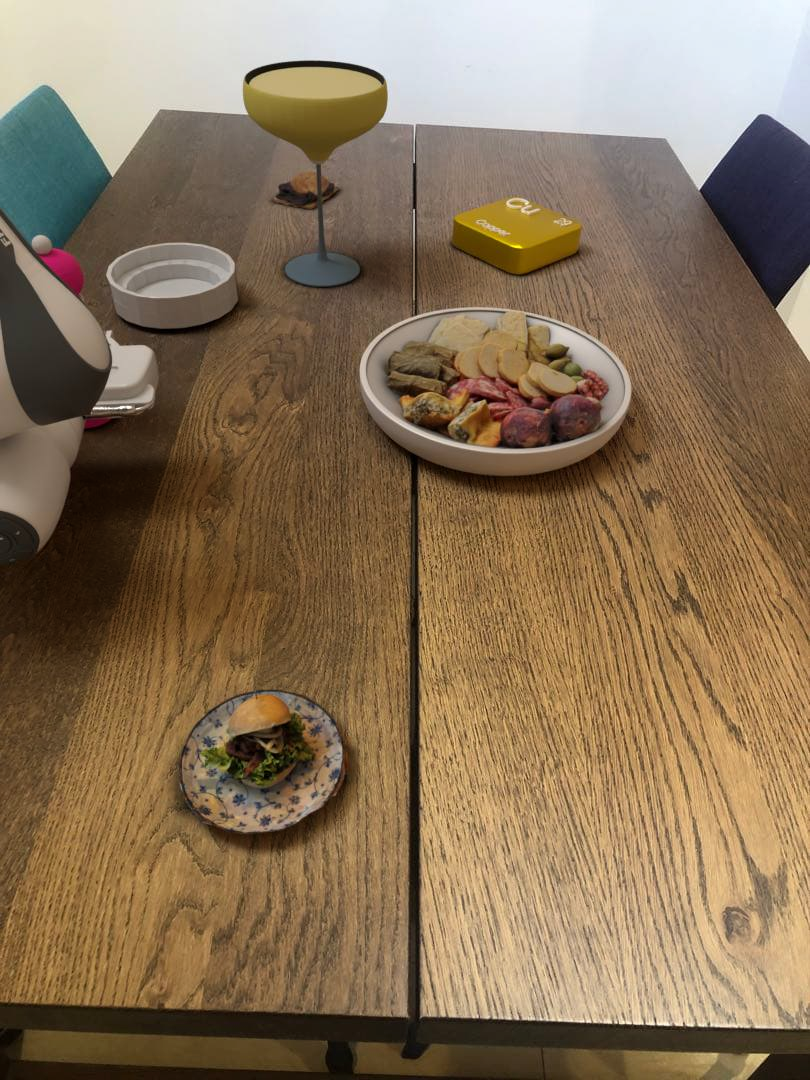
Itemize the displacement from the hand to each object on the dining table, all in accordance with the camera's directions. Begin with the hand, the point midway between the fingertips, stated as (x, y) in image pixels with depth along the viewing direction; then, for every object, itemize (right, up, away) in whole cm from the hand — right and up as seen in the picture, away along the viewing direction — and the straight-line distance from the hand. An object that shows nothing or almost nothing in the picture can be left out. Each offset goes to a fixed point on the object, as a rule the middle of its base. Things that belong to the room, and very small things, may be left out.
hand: (57, 338), depth 81 cm
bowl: (+44, -5, +13) cm, 46 cm away
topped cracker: (+18, +39, +58) cm, 72 cm away
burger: (+24, -37, -22) cm, 49 cm away
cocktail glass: (+23, +19, +38) cm, 48 cm away
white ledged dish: (+4, +12, +29) cm, 31 cm away
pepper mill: (-1, -6, +10) cm, 11 cm away
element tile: (+51, +25, +45) cm, 73 cm away
